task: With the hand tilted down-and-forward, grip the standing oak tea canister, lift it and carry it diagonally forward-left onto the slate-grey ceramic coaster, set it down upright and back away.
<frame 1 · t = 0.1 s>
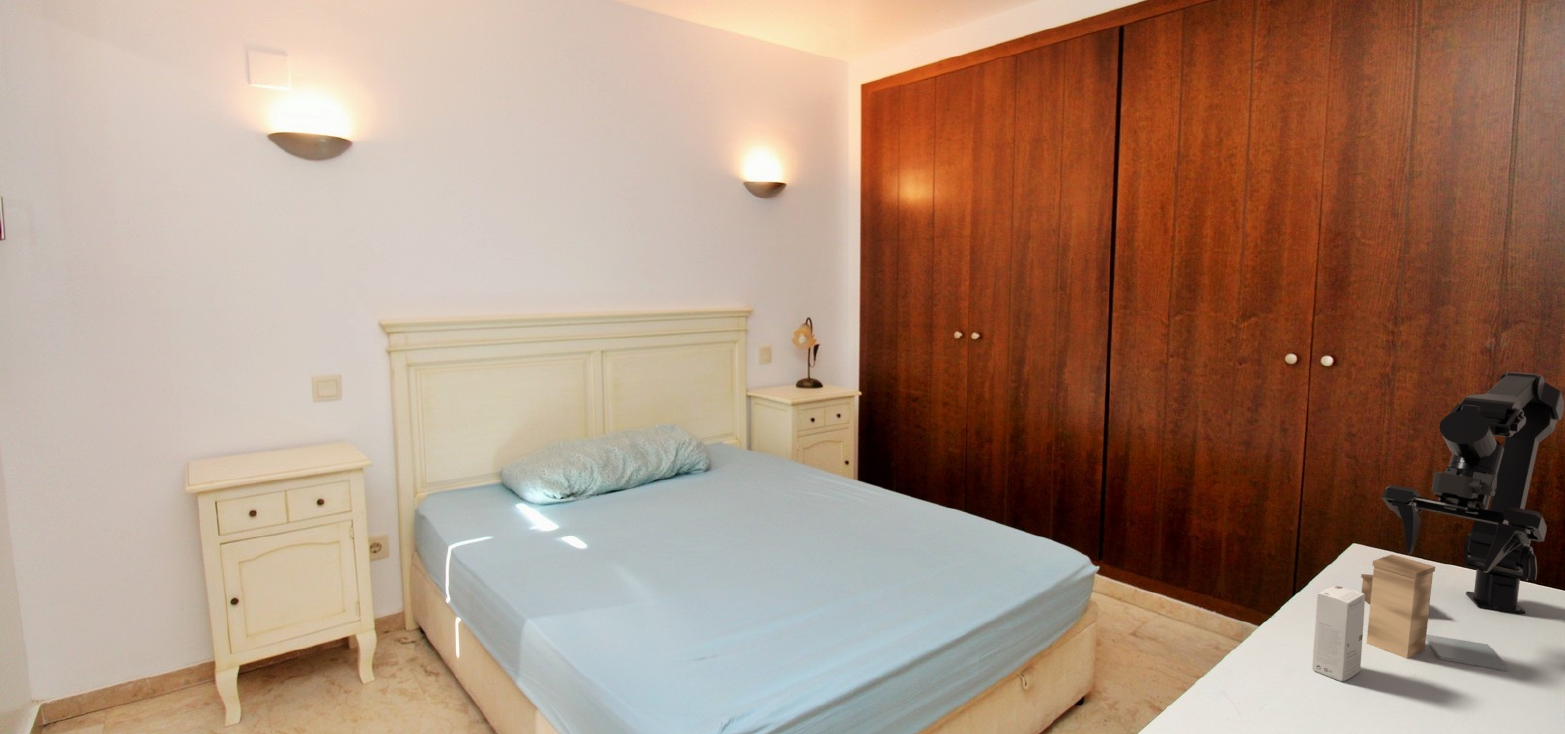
hand: (1446, 562, 118), 15 cm above the table, tool tilted 35°, fingers open, 9 cm apart
oak tea canister: (1395, 646, 122), on the table
walnut trinket box: (1388, 606, 137), on the table
coaster: (1463, 653, 120), on the table
skincare box: (1335, 671, 115), on the table
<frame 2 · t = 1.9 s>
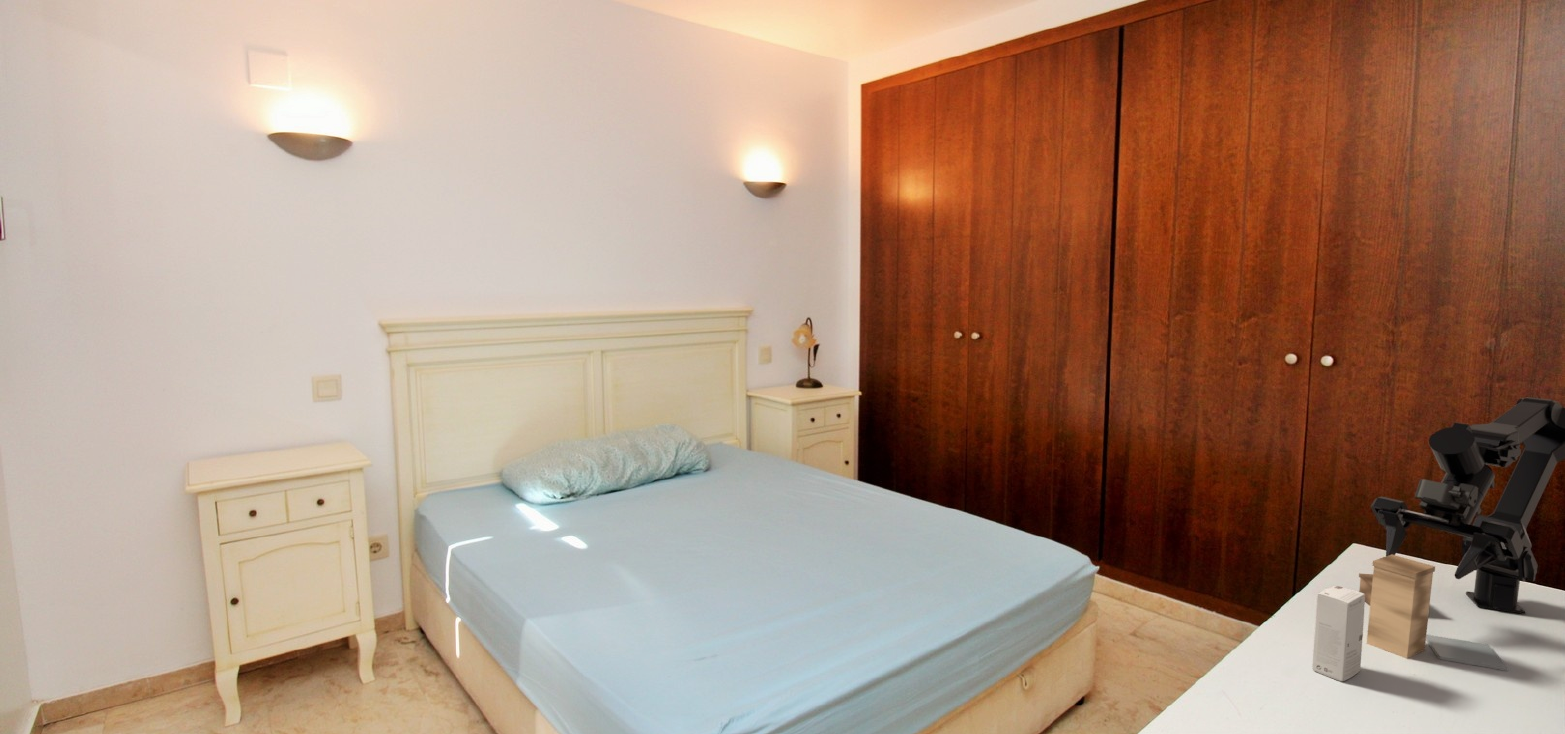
hand: (1421, 567, 123), 12 cm above the table, tool tilted 45°, fingers open, 9 cm apart
nothing on the table moved.
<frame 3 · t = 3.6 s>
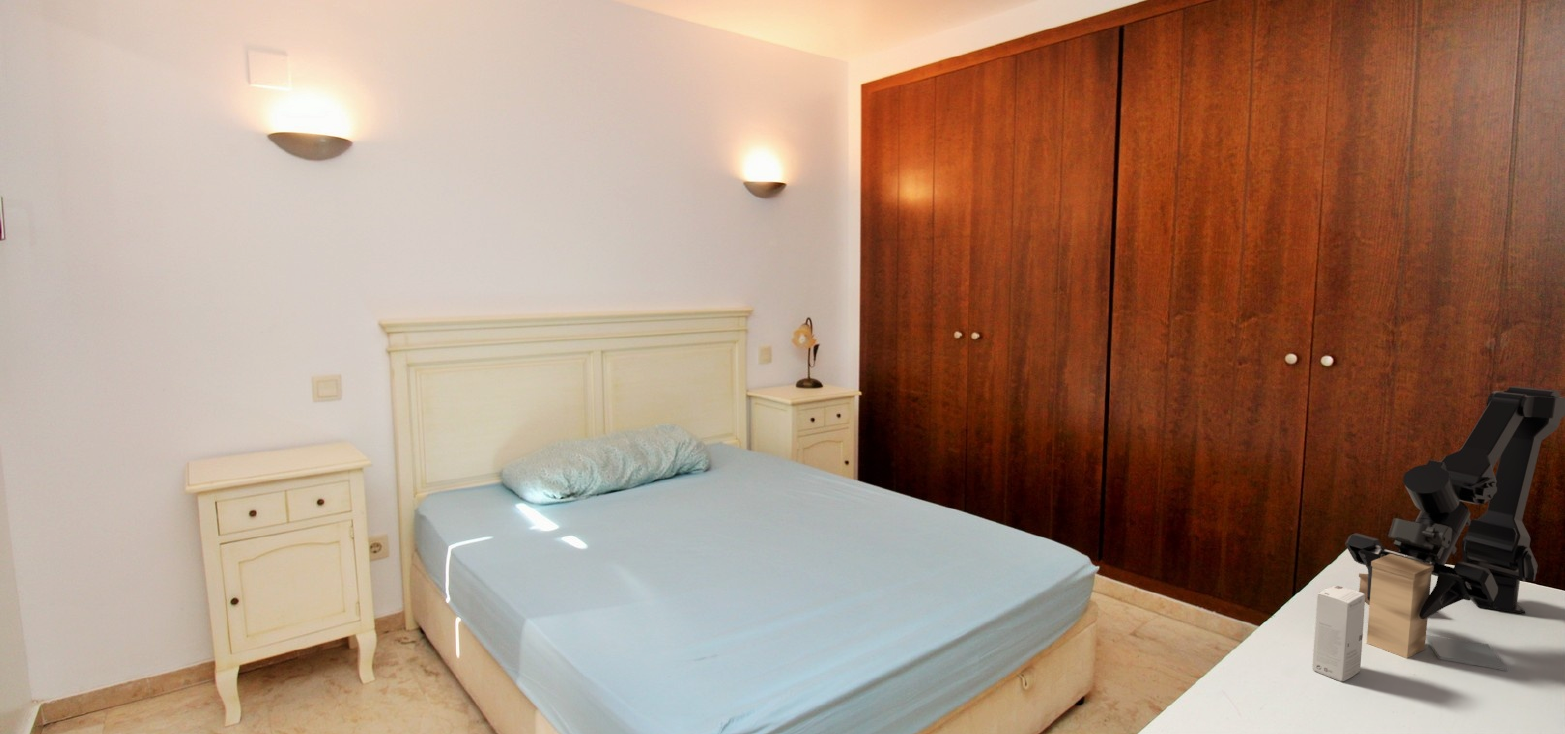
hand: (1394, 608, 121), 7 cm above the table, tool tilted 45°, fingers open, 7 cm apart
oak tea canister: (1395, 645, 122), on the table, touching gripper
everything else where it was.
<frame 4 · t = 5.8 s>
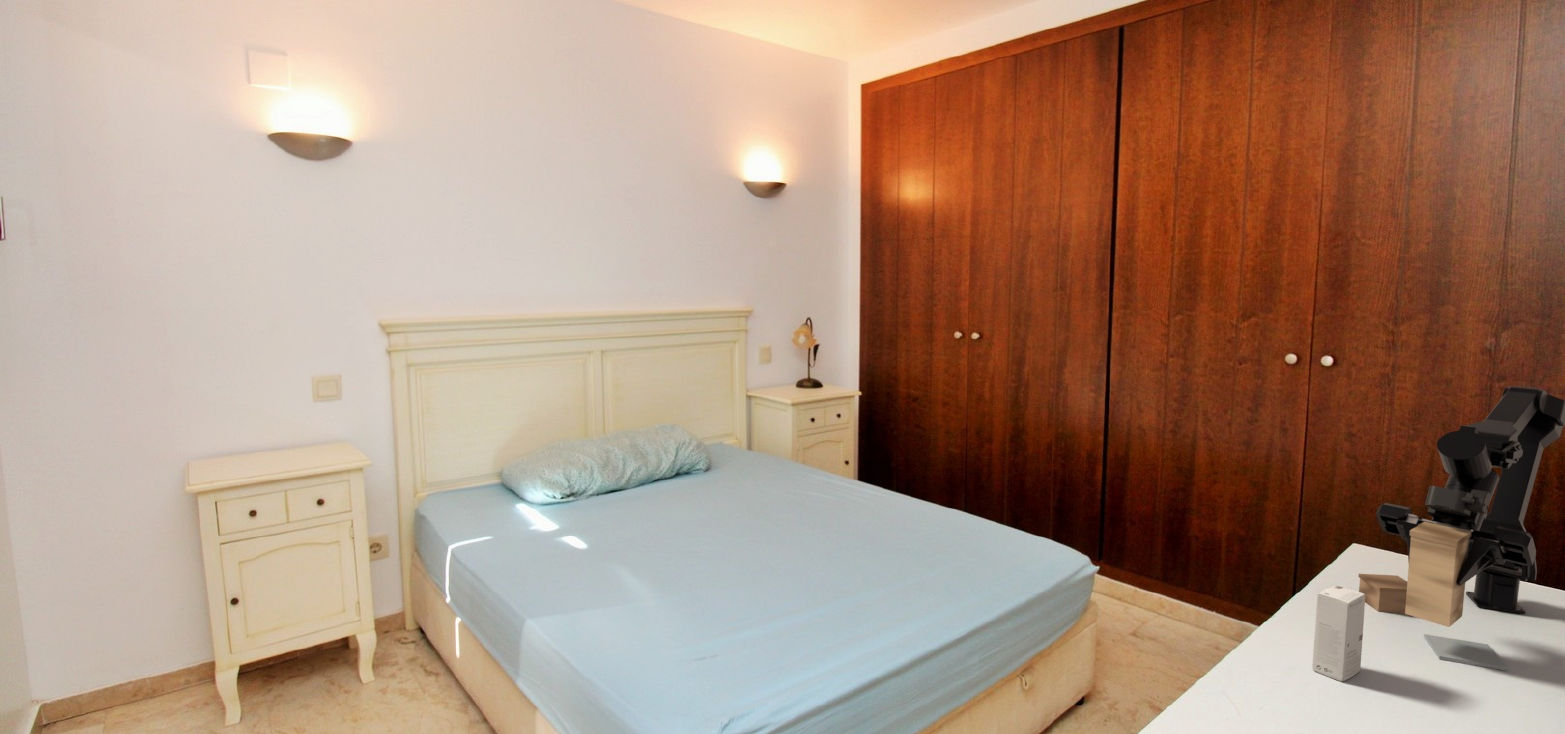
hand: (1434, 577, 119), 12 cm above the table, tool tilted 45°, fingers closed on oak tea canister, 5 cm apart
oak tea canister: (1433, 614, 120), point 6 cm above the table, touching gripper
everything else where it was.
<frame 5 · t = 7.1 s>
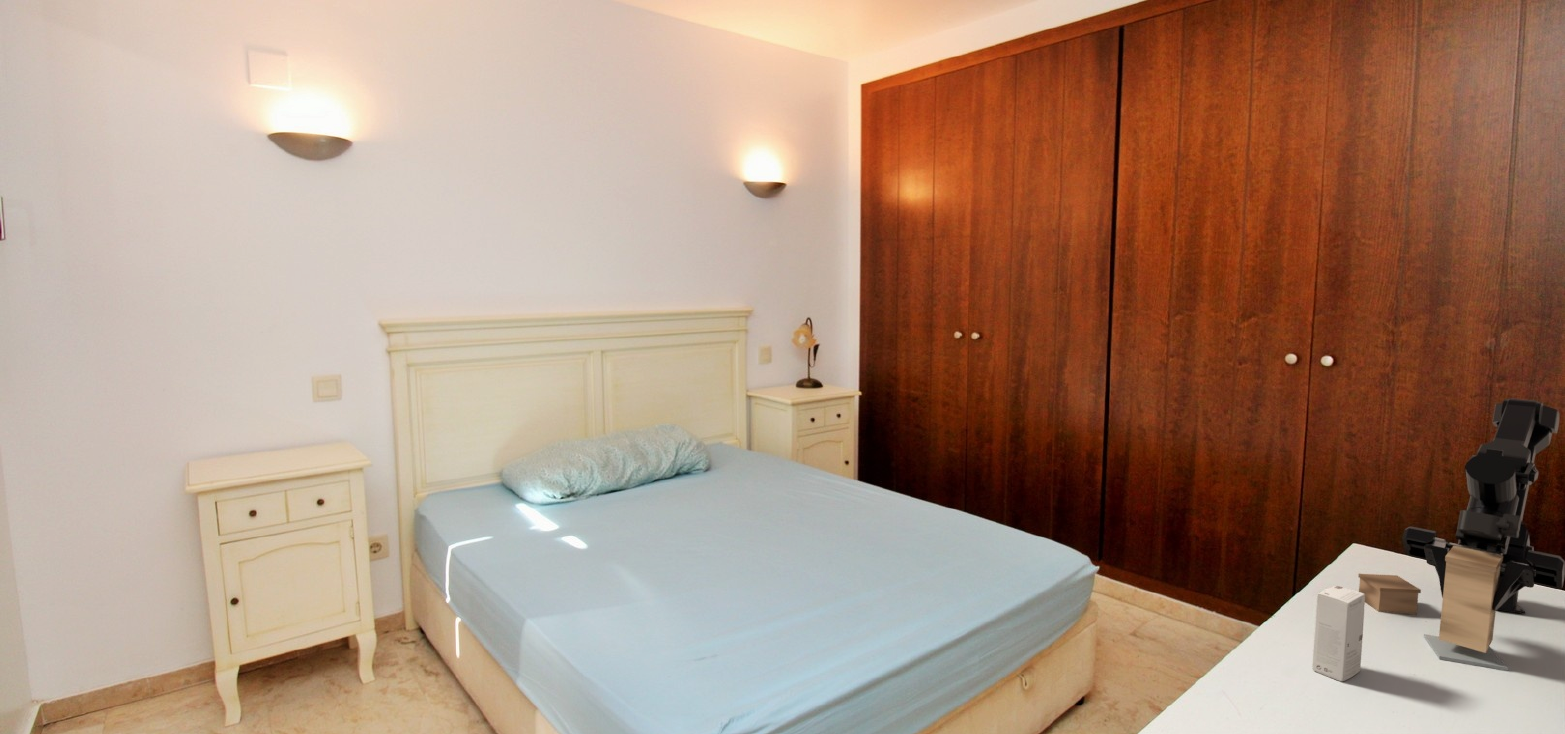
hand: (1468, 602, 118), 9 cm above the table, tool tilted 45°, fingers closed on oak tea canister, 5 cm apart
oak tea canister: (1465, 639, 120), point 2 cm above the table, touching gripper
everything else where it was.
when the fingers open (8 cm above the table, at t = 7.7 s): oak tea canister stays where it is, resting on coaster.
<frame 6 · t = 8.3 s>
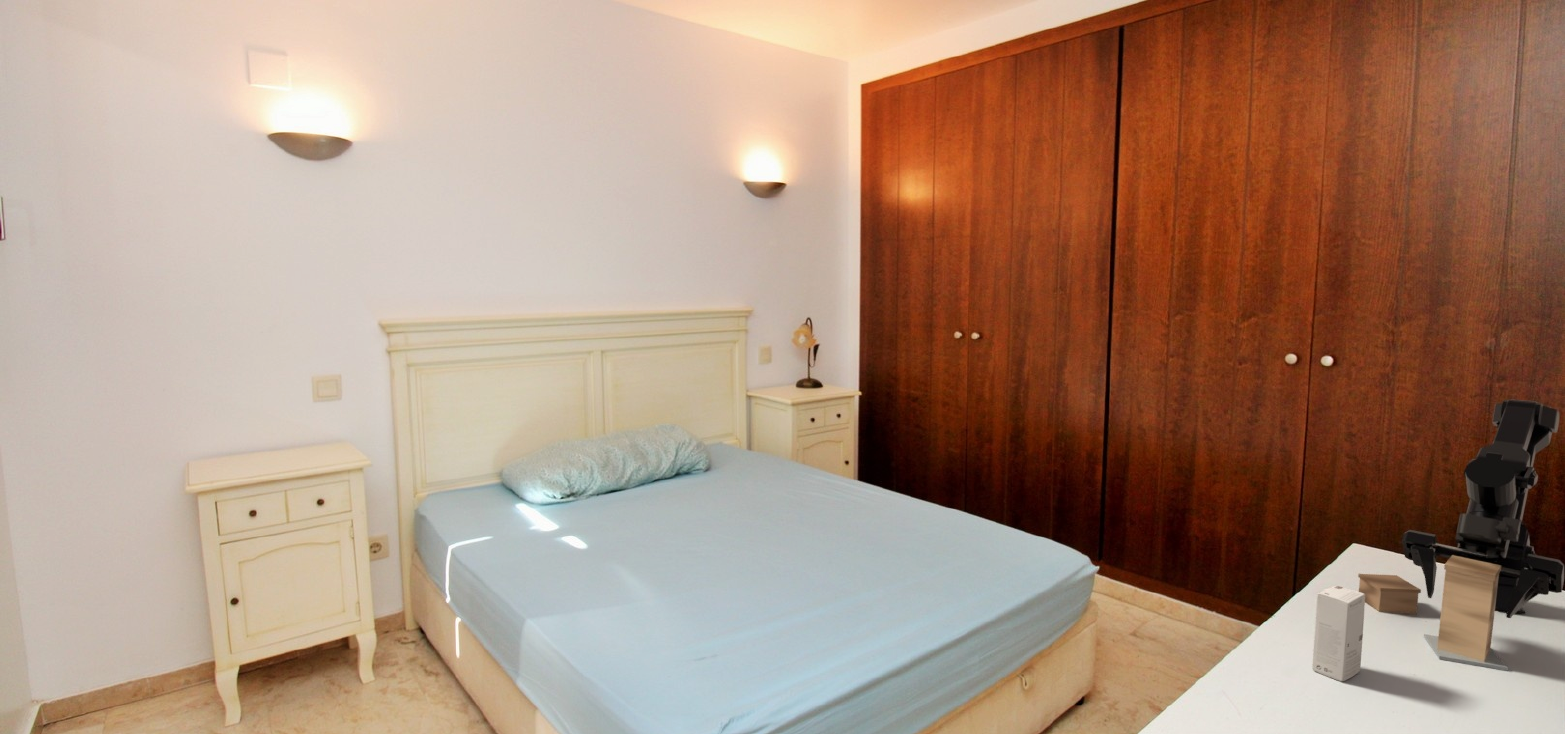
hand: (1467, 606, 118), 8 cm above the table, tool tilted 45°, fingers open, 9 cm apart
oak tea canister: (1463, 649, 120), point 1 cm above the table, touching coaster, gripper
everything else where it was.
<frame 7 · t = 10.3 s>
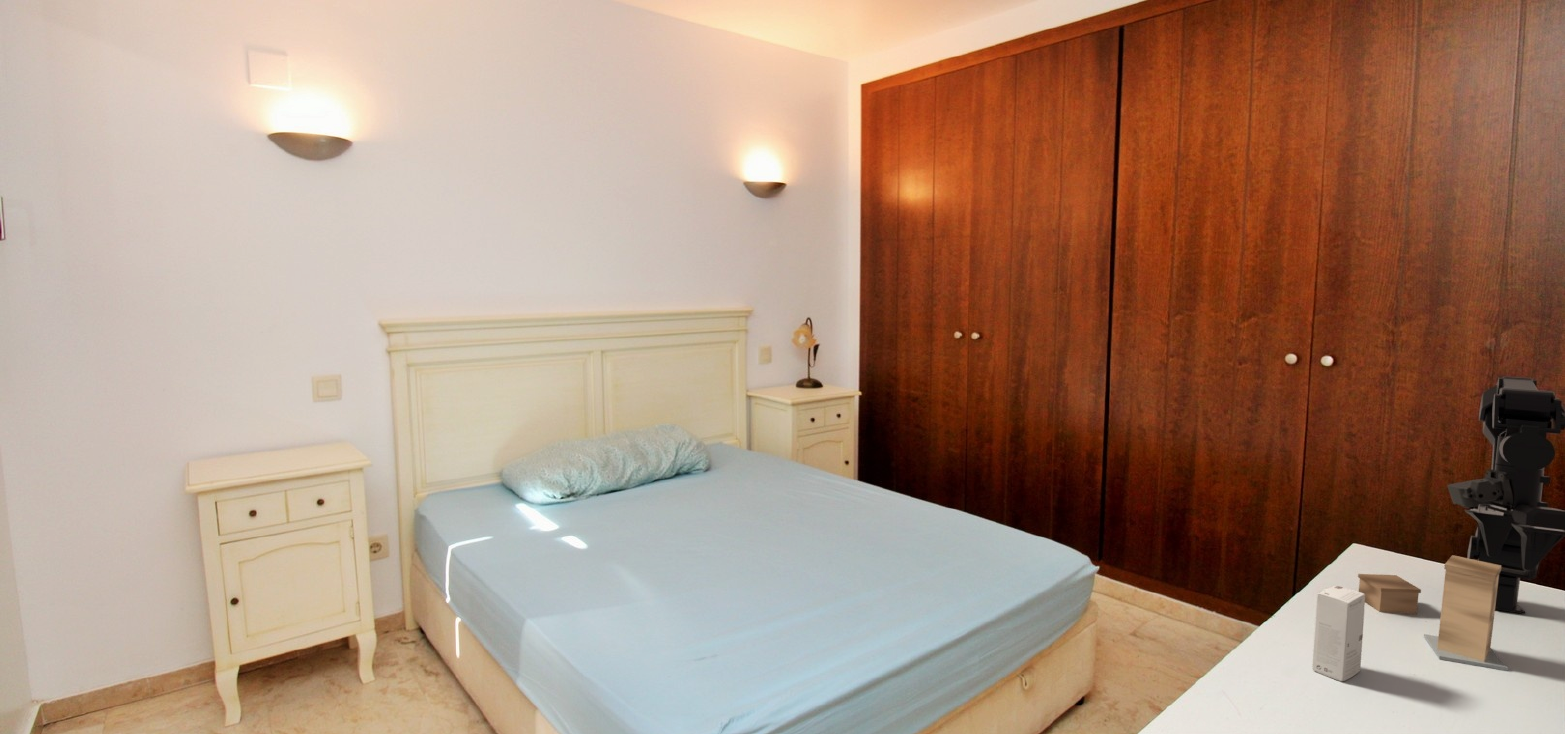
hand: (1509, 563, 124), 13 cm above the table, tool pointing down, fingers open, 9 cm apart
oak tea canister: (1463, 649, 120), resting on coaster
everything else where it was.
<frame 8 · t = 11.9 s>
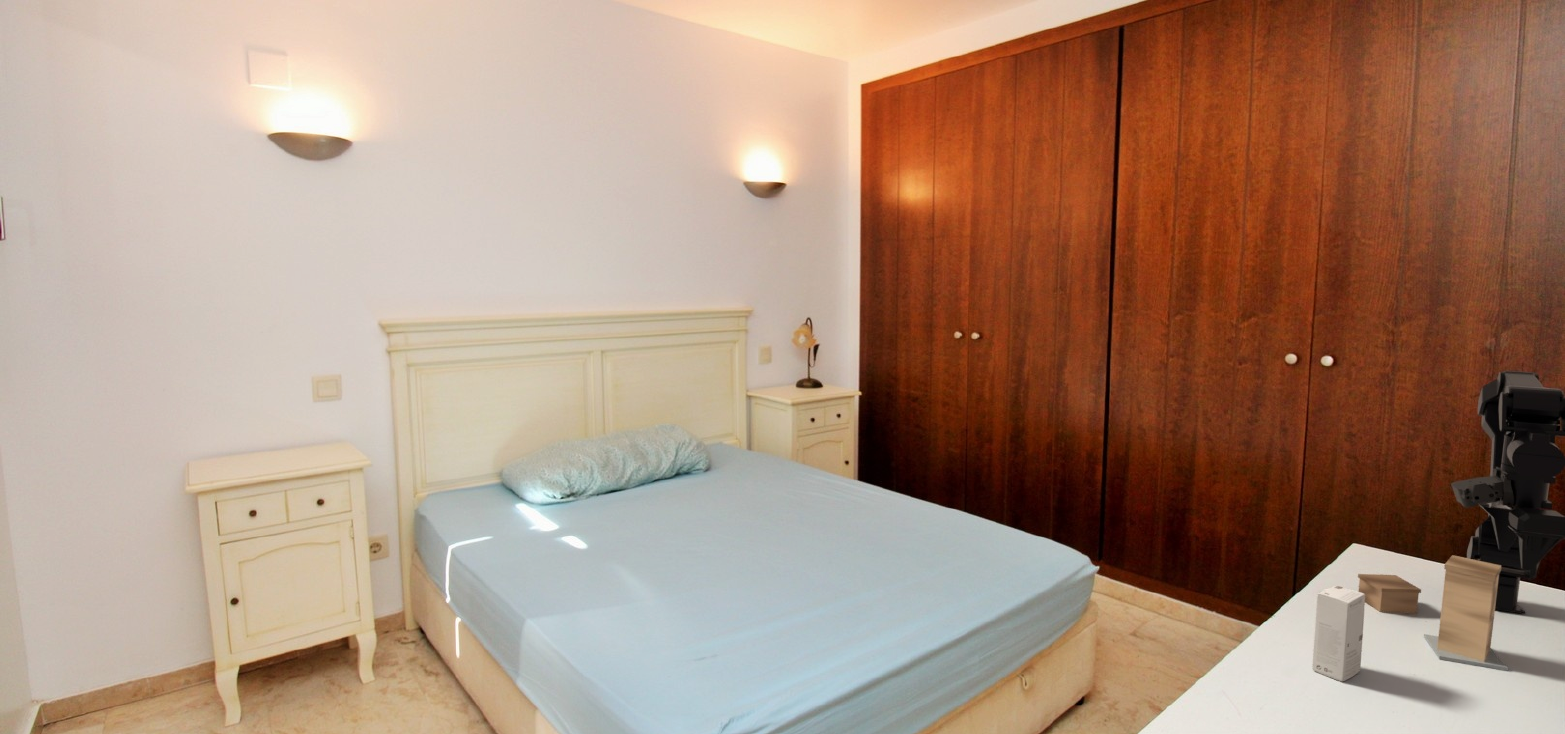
hand: (1514, 560, 124), 13 cm above the table, tool pointing down, fingers open, 9 cm apart
nothing on the table moved.
at the end: oak tea canister inside the target area on the coaster (0.2 cm from its centre), point 0.5 cm above the coaster's base; oak tea canister tilted 0°; the gripper is holding nothing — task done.
